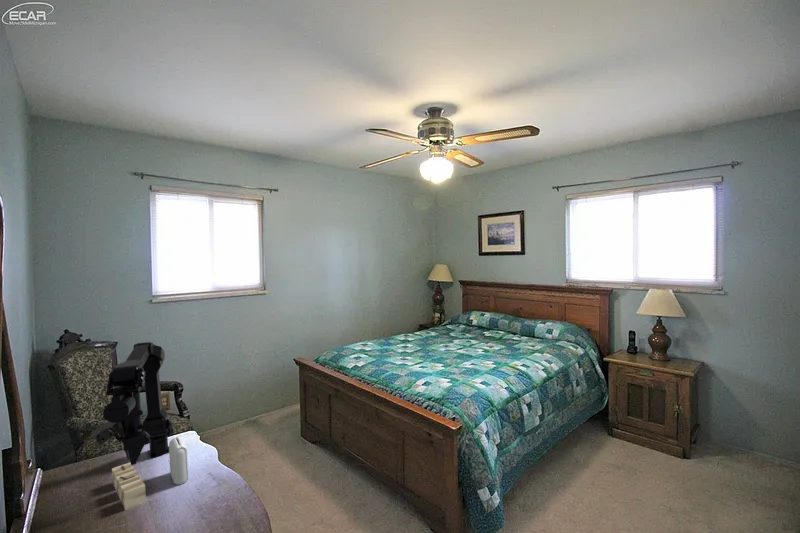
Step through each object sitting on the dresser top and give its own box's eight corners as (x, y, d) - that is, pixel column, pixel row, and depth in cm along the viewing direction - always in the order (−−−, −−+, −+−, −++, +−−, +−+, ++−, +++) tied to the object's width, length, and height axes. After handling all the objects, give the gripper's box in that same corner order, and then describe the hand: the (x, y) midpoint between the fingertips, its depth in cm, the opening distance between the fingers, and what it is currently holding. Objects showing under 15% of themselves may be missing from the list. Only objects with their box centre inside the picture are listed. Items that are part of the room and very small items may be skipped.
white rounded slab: (169, 473, 125) (167, 436, 124) (183, 468, 127) (182, 432, 127) (174, 487, 117) (172, 447, 116) (189, 481, 119) (188, 443, 119)
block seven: (117, 493, 115) (116, 476, 115) (136, 485, 118) (135, 469, 118) (120, 500, 111) (119, 483, 111) (140, 492, 115) (139, 475, 115)
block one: (112, 484, 120) (111, 468, 119) (131, 477, 123) (130, 461, 123) (115, 490, 116) (114, 474, 116) (135, 483, 120) (134, 467, 120)
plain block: (121, 503, 110) (120, 486, 110) (141, 494, 113) (141, 478, 113) (125, 510, 106) (124, 493, 106) (146, 502, 110) (145, 485, 110)
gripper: (88, 409, 110) (91, 461, 110) (98, 427, 97) (102, 487, 97) (134, 397, 118) (136, 447, 118) (149, 413, 105) (152, 468, 105)
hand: (131, 461), depth 110 cm, fingers open, 4 cm apart
